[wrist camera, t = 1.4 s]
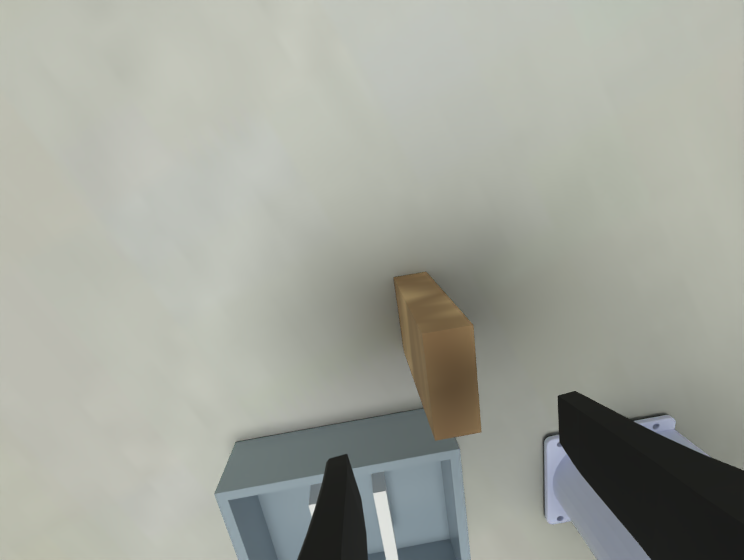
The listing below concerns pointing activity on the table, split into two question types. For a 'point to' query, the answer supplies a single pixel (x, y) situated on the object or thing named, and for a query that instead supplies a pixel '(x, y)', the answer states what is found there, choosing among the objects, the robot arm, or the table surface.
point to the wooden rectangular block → (439, 355)
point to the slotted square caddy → (374, 480)
